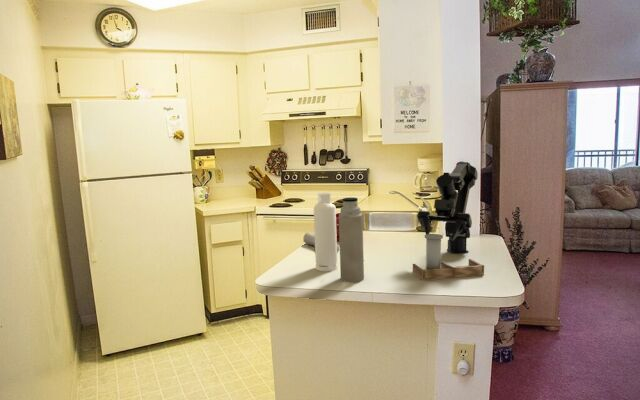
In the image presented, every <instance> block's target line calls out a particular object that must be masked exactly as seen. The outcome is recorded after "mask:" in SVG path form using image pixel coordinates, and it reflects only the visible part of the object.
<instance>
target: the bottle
mask: <svg viewBox="0 0 640 400" xmlns="http://www.w3.org/2000/svg"><path fill="white" fill-rule="evenodd" d="M331 197H332V195H331V193H330V192H319V193H317V203H316V204H315V205H314V207H313V225H314V229H313V230H314V235H315V246H314V248H315V249H314V250H315V253H314V254H315V269H316V270H317V271H320V272H333V271H336V270H338V253H337V244H338V241H337V234H336V213H337V210H336V209H337V208H336V205H335V204H334V203H332V201H331V200H332V198H331Z"/></svg>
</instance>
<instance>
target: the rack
mask: <svg viewBox="0 0 640 400" xmlns="http://www.w3.org/2000/svg"><path fill="white" fill-rule="evenodd" d="M425 269H426V268H425ZM425 269H422V267H420V266H419V265H417V264H416V263H412V273H413V274H414V275H415V276H416V277H417V278H419V279H420V280H422V281H423V282H424V281H434V280H443V279H454V278H465V277H474V276H484V275H485V265H483V264H482V263H480V262H478V261H476V260H474V259H472V258H469V259H468V265H459V266H457V265H456V266H452V265H451V264H449V263H447V262H445V261H444V260H441V268H440V269H433V270H425Z"/></svg>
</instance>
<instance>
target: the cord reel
mask: <svg viewBox="0 0 640 400" xmlns="http://www.w3.org/2000/svg"><path fill="white" fill-rule="evenodd" d="M443 238H444V237H443V235H442V234H438V233H429V234H426V233H425V234H424V239H425V240H426V241H425V245H426V247H425V248H426V249H425V253H426V254H425V270H433V269H440V268H441V261H442V252H441V250H442V239H443Z"/></svg>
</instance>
